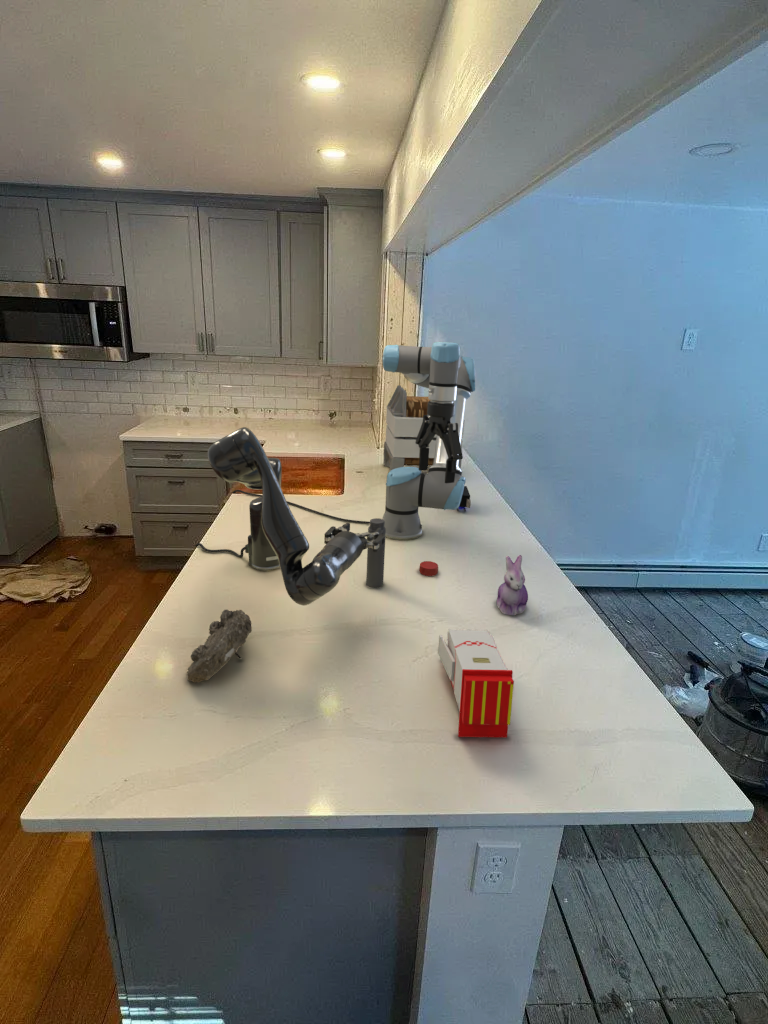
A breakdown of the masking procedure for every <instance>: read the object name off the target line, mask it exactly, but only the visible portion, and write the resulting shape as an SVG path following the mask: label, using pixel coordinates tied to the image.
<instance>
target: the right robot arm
mask: <svg viewBox="0 0 768 1024" xmlns="http://www.w3.org/2000/svg"><path fill="white" fill-rule="evenodd" d="M460 351H461V346H460V344H459V343H457V342H450V341H449V342H448V341H434V342H433V343H432V345H431V346H414V345H401V344H400V345H399V344H387V345H386V346H384V349H383V352H382V368H383V371H385V372H389V373H393V374H394V373H399V374H402V375H403V376H404V379H406V380H407V382H409V383H412V384H413V385H416V386H419V387H421V388H425V389H428V395H427V397H428V399H429V400H430V401H429V402H428V407H427V414H428V415H424V416H423V422H422V425H421V428H420V430H419V433H418V436H417V439H416V442H415V443H416V444H418V445H419V448H420V453H419V466H418V467H417V466H404V467H400V468H396V469H393V470H391V471H390V470H389V472H388V473H387V475H386V482H385V504H384V505H385V507H384V508H385V509H384V513H383V515H382V519H383V520H384V521H385V525H384V527H385V528H386V535H385V538H387V539H389V540H395V541H410V540H415V539H418V538H420V537H421V536H422V535H423V525H422V524H421V518H420V515H419V508H427V509H437V510H443V511H447V510H448V511H457V508H458V507H459V505H460V502H461V498H462V495H463V490H464V486H466V485H465V484H466V480H467V479H466V477H465V476H463V471H462V469H461V470H460V468H459V467H458V465H459V459H464V456H463V449H462V450H461V440H462V438H461V437H462V428H463V419H464V417H465V410H466V409H465V407H466V401H467V400H468V399H470V398H471V396H472V395H471V394H472V393H473V392H475V391H476V364H475V363H476V362H475V359H474V358H473V357H471V356H463V355H461V352H460ZM435 435H437V437H436V446H435V454H434V463H433V465H430V466H429V465H428V460H429V448H426V447H429V444H430V442H431V441H432V439H433V438H434V436H435ZM420 439H422V440H420ZM422 471H427V473H423V472H422ZM235 493H242V494H244V495H248V496H255V497H258V498H259V497H262V494H258V493H253V492H252V493H251V492H247V491H244V490H241V489H235V490H233V491H232V494H235ZM286 501H287V500H286ZM287 504H288V505H291V506H293V507H297V508H300V509H303V510H305V511H309V512H311V513H315V514H318V515H321V516H324V517H328V518H330V519H333V520H338V521H341V522H342V521H343V522H346V523H355V524H366V525H370V521H365V520H357V519H348V518H342V517H337V516H333V515H331V514H327V513H324V512H320V511H318V510H315V509H312V508H309V507H305V506H302V505H300V504H297V503H294V502H292V501H287Z"/></svg>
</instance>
